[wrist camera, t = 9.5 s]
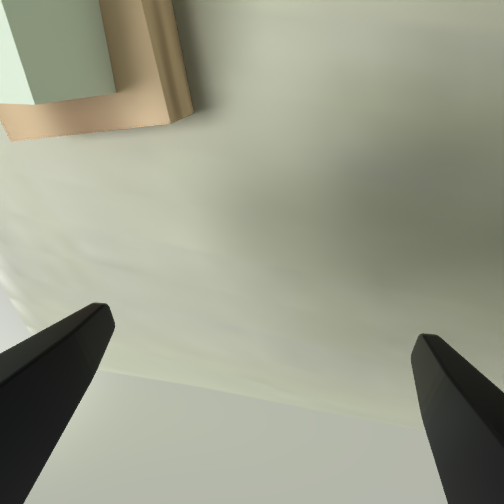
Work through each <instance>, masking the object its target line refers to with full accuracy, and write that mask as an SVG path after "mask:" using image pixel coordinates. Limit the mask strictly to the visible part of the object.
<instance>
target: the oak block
mask: <svg viewBox="0 0 504 504" xmlns="http://www.w3.org/2000/svg"><path fill="white" fill-rule="evenodd" d="M99 5H100V11H101V16H102V21H103V26H104V31H105V36H106V42H107V47H108V52H109V57H110V62H111V67H112V73H113V78H114V83H115V88H116V93H114V94H107V95H100V96H93V97H86V98H79V99H72V100H65V101H58V102H51V103H44V104H37V105H29V104H2V103H0V121H1V123H2V125H3V127H4V129H5V131H6V133H7V135H8V137H9V139H10V141H11V142H12V141H21V140H29V139H38V138H47V137H56V136H65V135H74V134H83V133H92V132H101V131H110V130H119V129H128V128H137V127H146V126H155V125H164V124H171V123H173V122H175V121H178V120H180V119H182V118H184V117H186V116H189V115H191V114H193V113H194V110H193V105H192V100H191V95H190V90H189V85H188V80H187V75H186V70H185V65H184V60H183V55H182V50H181V45H180V40H179V35H178V30H177V25H176V20H175V15H174V10H173V5H172V0H99Z"/></svg>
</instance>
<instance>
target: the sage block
mask: <svg viewBox="0 0 504 504" xmlns="http://www.w3.org/2000/svg"><path fill="white" fill-rule="evenodd" d="M114 93H116V88H115V83H114V78H113V73H112V67H111V62H110V57H109V52H108V47H107V42H106V36H105V31H104V26H103V21H102V16H101V11H100V5H99V0H0V103H2V104H29V105H37V104H44V103H51V102H58V101H65V100H72V99H79V98H86V97H93V96H100V95H107V94H114Z"/></svg>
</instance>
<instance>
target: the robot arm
mask: <svg viewBox="0 0 504 504" xmlns="http://www.w3.org/2000/svg"><path fill="white" fill-rule="evenodd" d="M114 329H115V322H114V319H113V316H112V313H111V310H110V307H109V306H108V305H107V304H105V303H92V304H90V305H88V306H86V307H84V308H83V309H81V310H79V311H77V312H75V313H73V314H72V315H70V316H68V317H66V318H64V319H62V320H61V321H59V322H57V323H55V324H53V325H52V326H50V327H48V328H46V329H44V330H42V331H41V332H39V333H37V334H35V335H33V336H31V337H30V338H28V339H26V340H24V341H22V342H20V343H19V344H17V345H15V346H13V347H11V348H10V349H8V350H6V351H4V352H2V353H0V504H23V503H24V502H25V499H26V498H27V496H28V494H29V492H30V491H31V489H32V487H33V485H34V483H35V482H36V480H37V478H38V476H39V475H40V473H41V471H42V469H43V467H44V466H45V464H46V462H47V460H48V458H49V457H50V455H51V453H52V451H53V449H54V448H55V446H56V444H57V442H58V440H59V439H60V437H61V435H62V433H63V431H64V430H65V428H66V426H67V424H68V422H69V421H70V419H71V417H72V415H73V413H74V412H75V410H76V408H77V406H78V404H79V403H80V401H81V399H82V397H83V395H84V393H85V392H86V390H87V388H88V386H89V385H90V383H91V381H92V379H93V377H94V375H95V373H96V371H97V369H98V366H99V364H100V362H101V359H102V357H103V355H104V353H105V350H106V348H107V346H108V343H109V341H110V339H111V336H112V334H113V332H114ZM411 364H412V369H413V374H414V380H415V385H416V390H417V395H418V401H419V406H420V411H421V415H422V420H423V423H424V427H425V430H426V433H427V437H428V440H429V443H430V446H431V450H432V453H433V456H434V459H435V463H436V466H437V469H438V472H439V475H440V479H441V482H442V485H443V489H444V492H445V495H446V498H447V502H448V504H504V393H503V392H502V391H501V390H500V389H499V388H498V387H497V386H495V385H494V384H493V383H492V382H491V381H490V380H489V379H487V378H486V377H485V376H484V375H483V374H482V373H481V372H479V371H478V370H477V369H476V368H475V367H474V366H473V365H471V364H470V363H469V362H468V361H467V360H466V359H465V358H463V357H462V356H461V355H460V354H459V353H458V352H457V351H455V350H454V349H453V348H452V347H451V346H450V345H449V344H447V343H446V342H445V341H444V340H443V339H442V338H441V337H439V336H438V335H434V334H424V333H423V334H420V335H419V336H418V338H417V341H416V343H415V346H414V348H413V351H412V354H411Z"/></svg>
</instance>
